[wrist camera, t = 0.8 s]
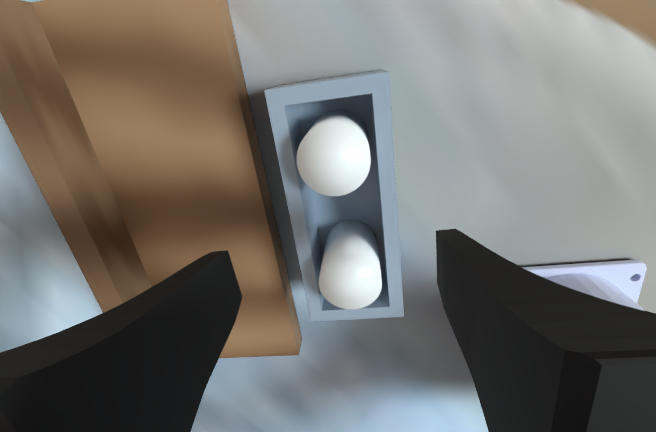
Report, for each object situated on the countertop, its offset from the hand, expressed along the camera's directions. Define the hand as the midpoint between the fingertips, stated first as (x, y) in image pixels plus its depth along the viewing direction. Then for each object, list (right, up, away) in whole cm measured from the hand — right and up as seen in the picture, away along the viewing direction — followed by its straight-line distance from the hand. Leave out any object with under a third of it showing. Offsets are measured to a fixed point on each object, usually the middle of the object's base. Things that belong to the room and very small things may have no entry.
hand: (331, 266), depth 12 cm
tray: (+1, +3, +8) cm, 8 cm away
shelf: (-8, +2, +9) cm, 13 cm away
